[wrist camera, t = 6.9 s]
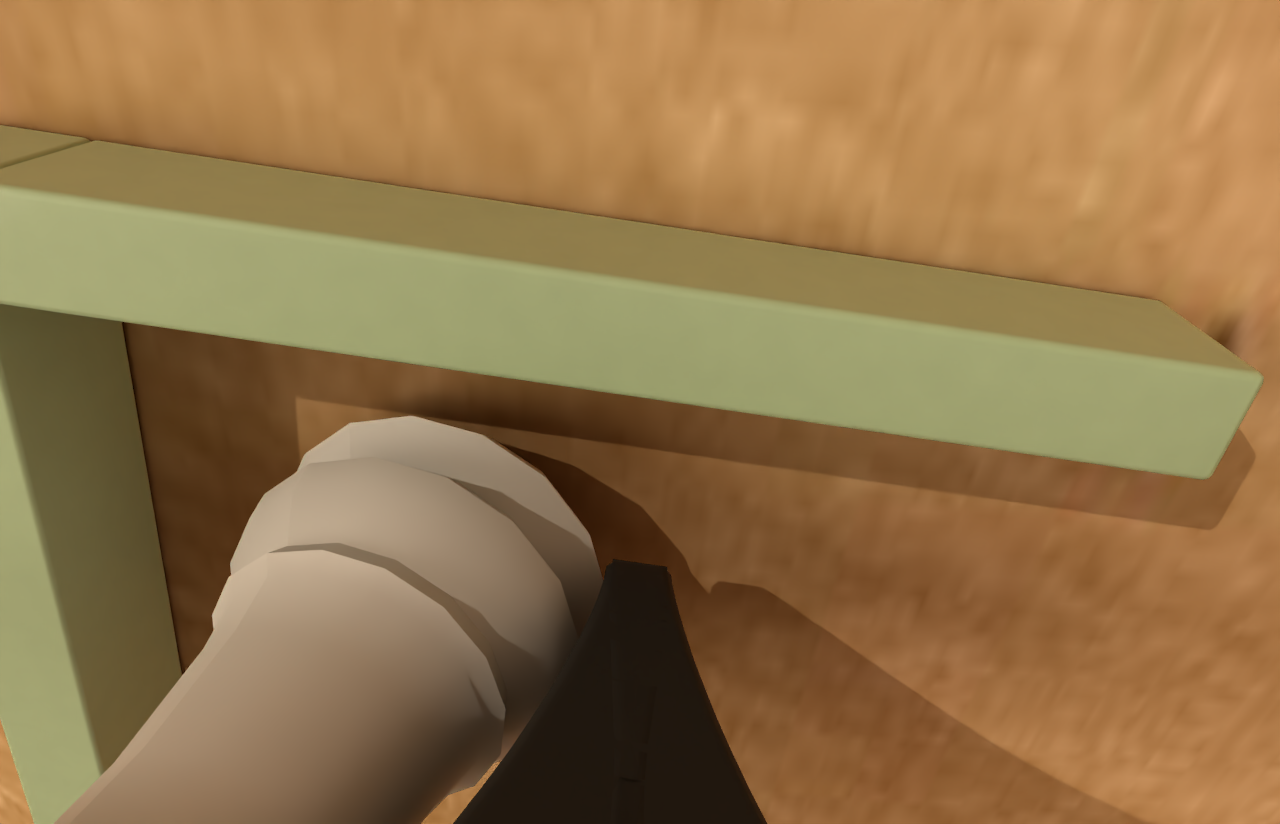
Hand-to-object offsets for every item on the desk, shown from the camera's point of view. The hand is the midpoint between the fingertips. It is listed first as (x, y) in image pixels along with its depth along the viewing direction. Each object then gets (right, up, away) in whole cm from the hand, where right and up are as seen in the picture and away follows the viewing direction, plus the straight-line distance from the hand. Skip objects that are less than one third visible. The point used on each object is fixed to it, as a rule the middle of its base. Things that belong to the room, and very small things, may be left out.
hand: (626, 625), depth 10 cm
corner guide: (-2, -2, +3) cm, 3 cm away
